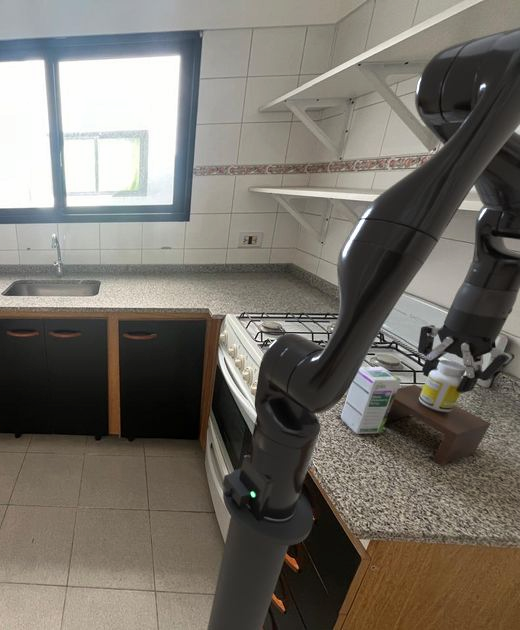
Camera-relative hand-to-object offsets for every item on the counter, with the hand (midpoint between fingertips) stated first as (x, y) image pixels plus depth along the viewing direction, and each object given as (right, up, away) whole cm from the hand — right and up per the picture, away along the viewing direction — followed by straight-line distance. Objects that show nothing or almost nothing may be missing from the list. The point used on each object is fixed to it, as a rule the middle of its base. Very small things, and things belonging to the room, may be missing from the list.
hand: (444, 382), depth 71 cm
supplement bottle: (0, -5, +2) cm, 6 cm away
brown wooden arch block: (0, -13, +6) cm, 14 cm away
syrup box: (-11, -12, +9) cm, 18 cm away
